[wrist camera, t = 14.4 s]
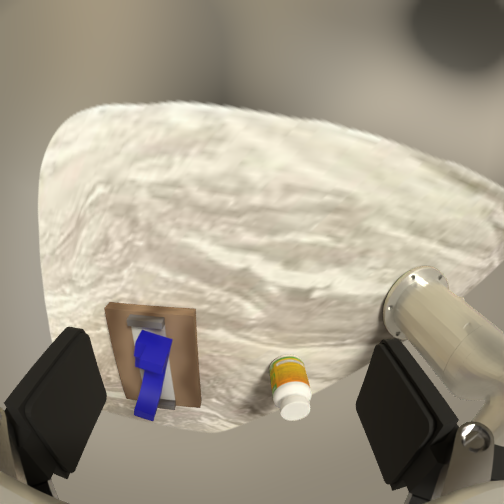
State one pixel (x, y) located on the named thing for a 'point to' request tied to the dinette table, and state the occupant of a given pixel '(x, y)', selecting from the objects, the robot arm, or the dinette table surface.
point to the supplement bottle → (290, 387)
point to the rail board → (180, 358)
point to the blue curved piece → (151, 371)
